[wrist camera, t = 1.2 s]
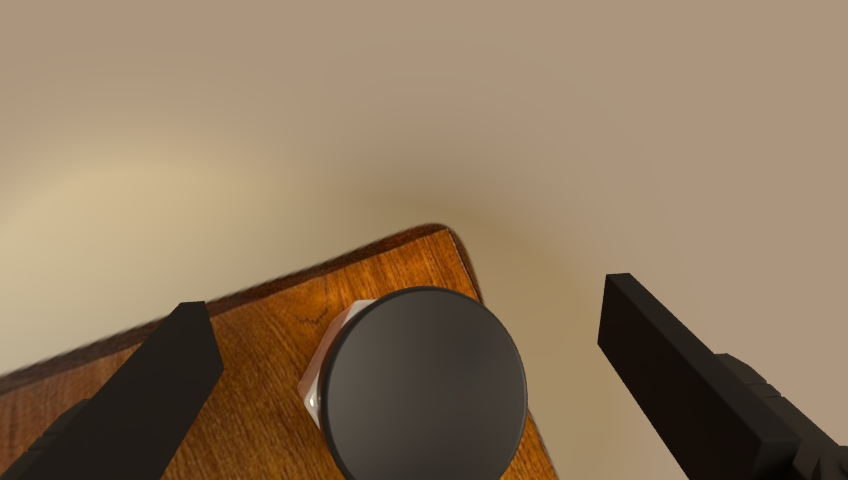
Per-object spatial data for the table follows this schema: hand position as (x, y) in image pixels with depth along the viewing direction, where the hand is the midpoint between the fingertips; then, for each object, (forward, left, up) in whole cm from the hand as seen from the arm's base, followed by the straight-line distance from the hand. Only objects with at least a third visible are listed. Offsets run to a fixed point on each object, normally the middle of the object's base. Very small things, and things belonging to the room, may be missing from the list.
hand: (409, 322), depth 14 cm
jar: (+3, 0, -14) cm, 14 cm away
